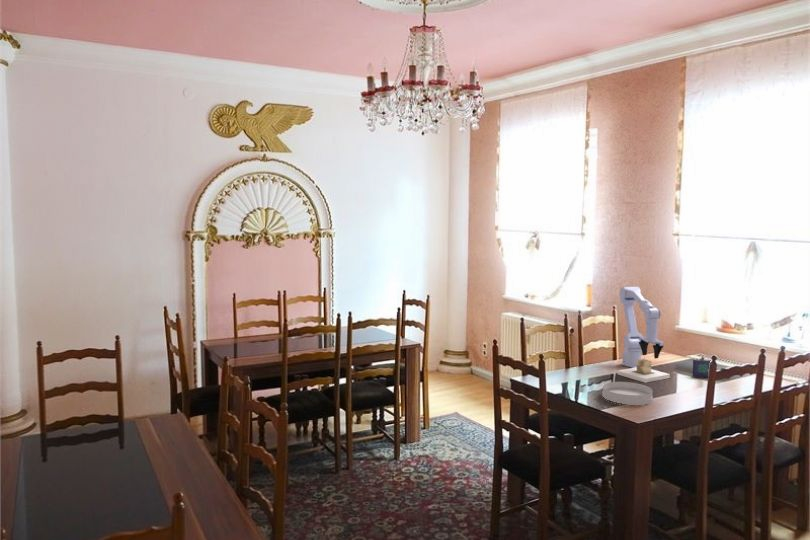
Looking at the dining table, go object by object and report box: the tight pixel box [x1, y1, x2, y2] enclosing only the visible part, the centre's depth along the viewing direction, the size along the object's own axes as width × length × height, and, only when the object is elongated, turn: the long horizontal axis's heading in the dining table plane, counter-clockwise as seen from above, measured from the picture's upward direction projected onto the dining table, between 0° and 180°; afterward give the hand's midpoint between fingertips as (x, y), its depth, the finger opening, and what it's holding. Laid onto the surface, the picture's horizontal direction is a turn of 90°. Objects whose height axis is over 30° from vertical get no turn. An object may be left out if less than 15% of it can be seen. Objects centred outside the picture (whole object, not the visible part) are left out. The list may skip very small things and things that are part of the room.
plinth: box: [617, 367, 671, 384], centre depth 333 cm, size 18×18×2 cm
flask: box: [692, 356, 712, 378], centre depth 332 cm, size 9×3×11 cm, turn 87°
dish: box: [601, 381, 654, 406], centre depth 295 cm, size 22×22×5 cm
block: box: [637, 358, 652, 374], centre depth 333 cm, size 5×5×6 cm
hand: (650, 356), depth 336 cm, fingers open, 7 cm apart
